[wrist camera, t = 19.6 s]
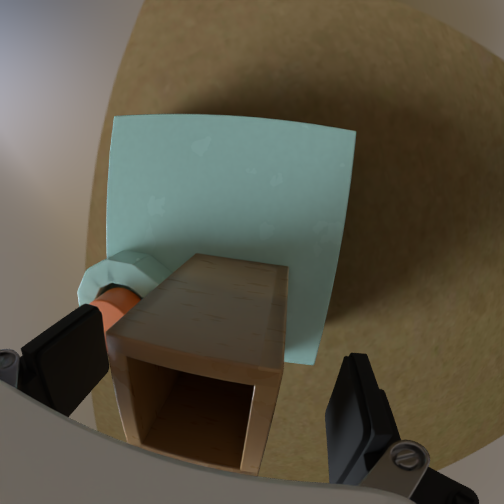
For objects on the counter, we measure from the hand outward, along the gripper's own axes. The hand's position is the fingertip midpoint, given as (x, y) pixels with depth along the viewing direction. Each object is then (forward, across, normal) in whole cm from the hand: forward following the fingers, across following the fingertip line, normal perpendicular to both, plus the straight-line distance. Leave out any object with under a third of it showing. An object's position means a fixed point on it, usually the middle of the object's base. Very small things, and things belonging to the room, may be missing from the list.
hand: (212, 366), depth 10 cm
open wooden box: (+5, 0, 0) cm, 5 cm away
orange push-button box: (+9, +2, -3) cm, 10 cm away
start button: (+3, +6, +1) cm, 7 cm away
